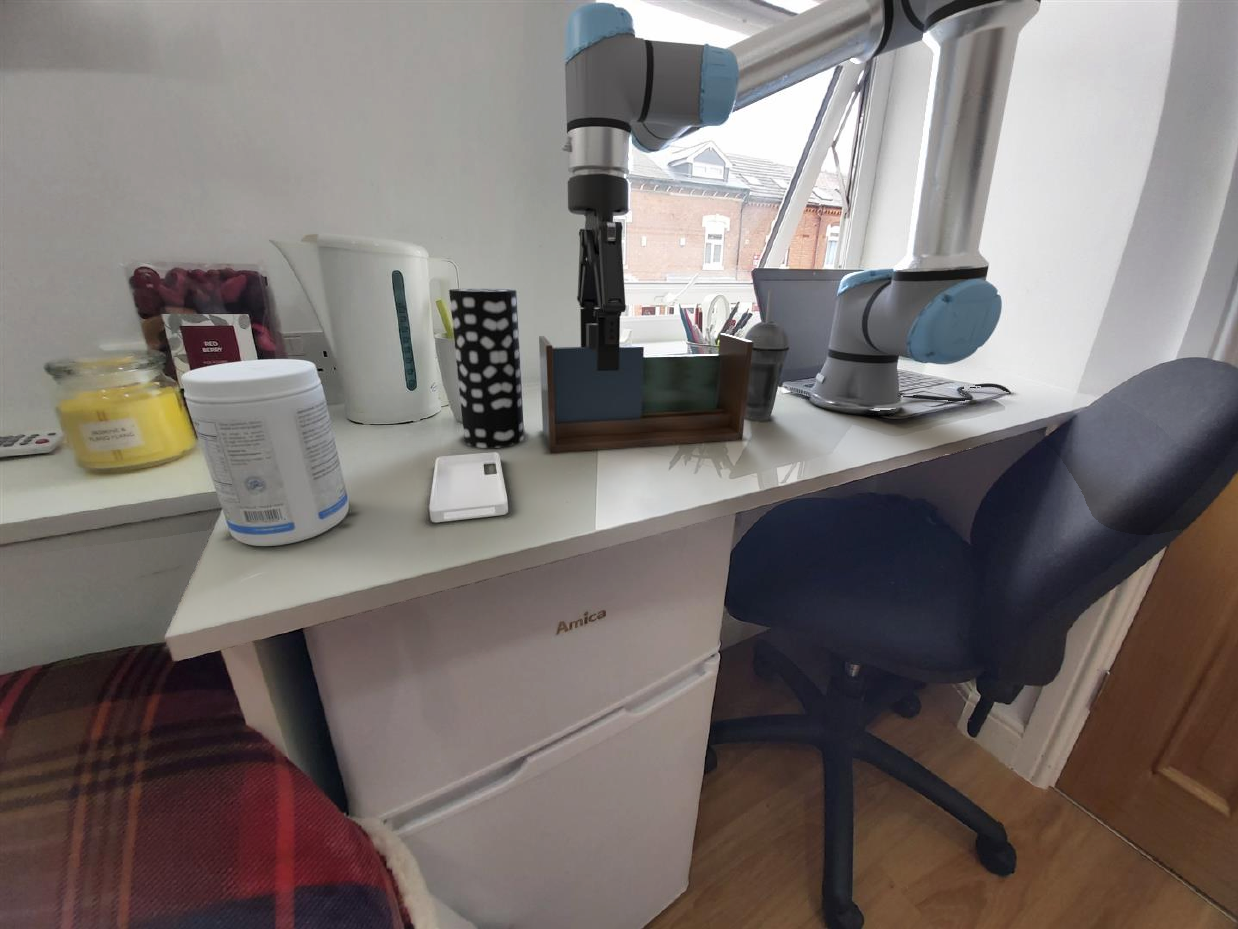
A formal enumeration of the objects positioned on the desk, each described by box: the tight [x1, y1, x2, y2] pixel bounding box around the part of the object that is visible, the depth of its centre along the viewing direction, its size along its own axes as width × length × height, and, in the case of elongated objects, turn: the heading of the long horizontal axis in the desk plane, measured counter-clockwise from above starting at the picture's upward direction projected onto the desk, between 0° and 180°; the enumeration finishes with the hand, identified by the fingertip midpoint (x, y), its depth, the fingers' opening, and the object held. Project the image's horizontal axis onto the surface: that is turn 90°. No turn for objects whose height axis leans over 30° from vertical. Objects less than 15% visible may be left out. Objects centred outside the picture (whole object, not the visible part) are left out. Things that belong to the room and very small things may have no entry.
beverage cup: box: [744, 290, 790, 422], centre depth 80 cm, size 7×7×20 cm
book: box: [553, 323, 645, 423], centre depth 68 cm, size 12×2×15 cm, turn 104°
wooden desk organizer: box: [538, 333, 753, 454], centre depth 70 cm, size 28×9×14 cm, turn 104°
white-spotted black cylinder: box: [448, 288, 525, 449], centre depth 67 cm, size 8×8×20 cm
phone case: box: [428, 452, 509, 523], centre depth 54 cm, size 7×1×15 cm
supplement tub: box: [180, 358, 350, 547], centre depth 44 cm, size 10×10×15 cm
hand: (598, 362), depth 67 cm, fingers open, 11 cm apart
